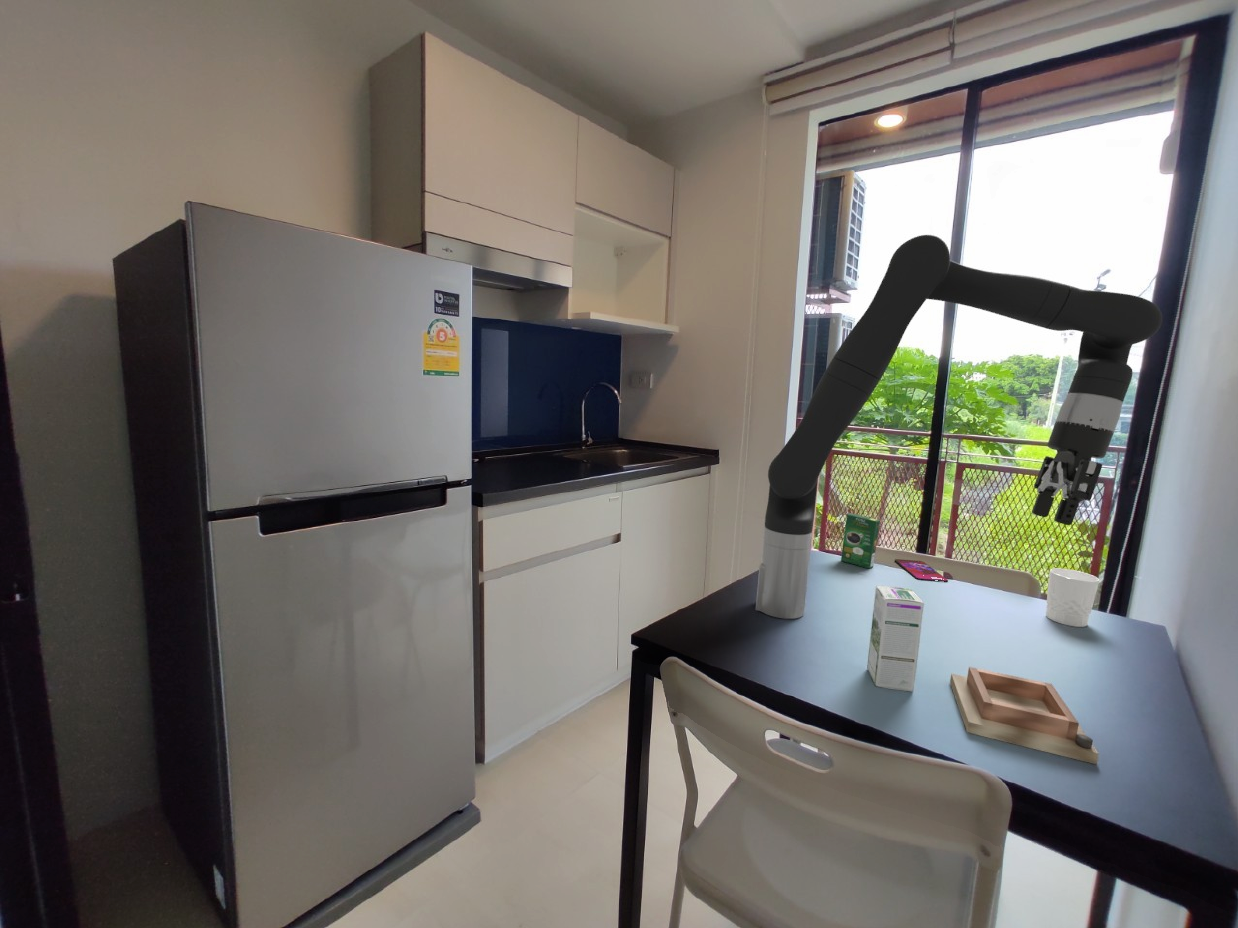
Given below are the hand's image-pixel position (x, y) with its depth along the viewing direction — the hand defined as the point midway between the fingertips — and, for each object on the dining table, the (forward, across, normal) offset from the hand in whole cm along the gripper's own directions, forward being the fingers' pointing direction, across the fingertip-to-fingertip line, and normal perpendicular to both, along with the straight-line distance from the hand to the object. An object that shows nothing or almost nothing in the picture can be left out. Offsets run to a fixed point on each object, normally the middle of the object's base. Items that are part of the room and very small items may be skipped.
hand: (1050, 519), depth 90 cm
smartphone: (+23, -49, -3) cm, 55 cm away
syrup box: (+31, +14, -19) cm, 39 cm away
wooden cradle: (+28, +19, -3) cm, 34 cm away
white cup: (+20, -27, +20) cm, 39 cm away
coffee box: (+26, -48, -18) cm, 57 cm away
